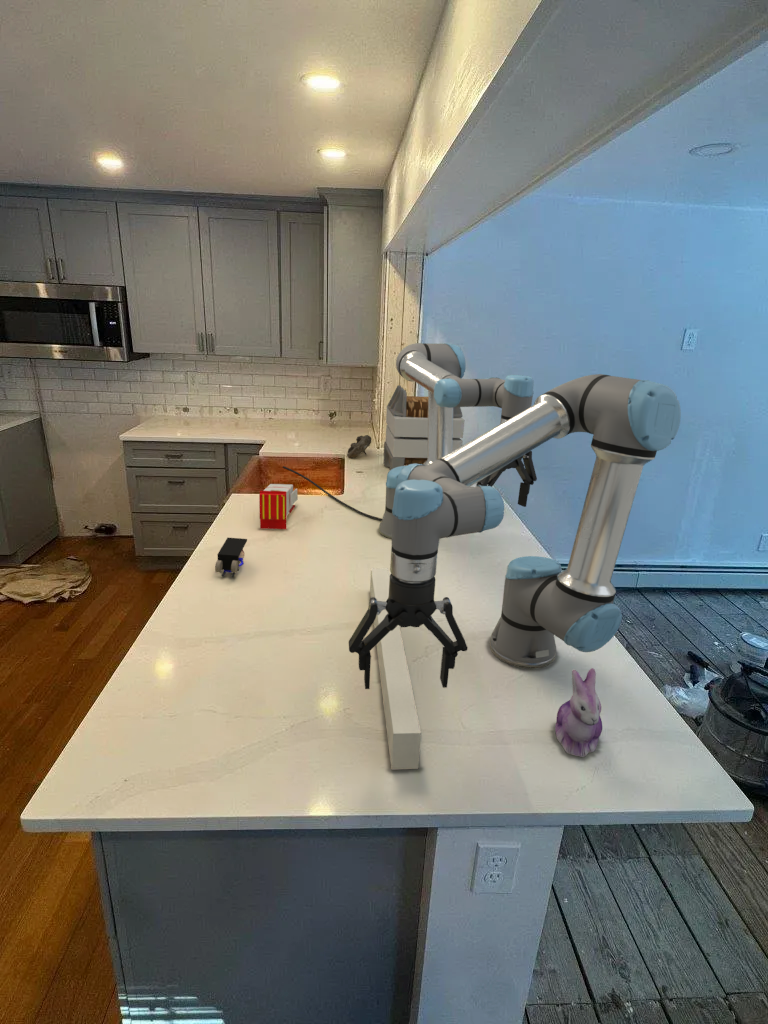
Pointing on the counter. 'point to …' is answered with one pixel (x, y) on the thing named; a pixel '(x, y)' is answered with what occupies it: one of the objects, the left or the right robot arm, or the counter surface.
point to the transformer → (412, 430)
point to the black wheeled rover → (230, 556)
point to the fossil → (359, 446)
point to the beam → (396, 686)
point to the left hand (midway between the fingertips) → (504, 508)
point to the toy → (276, 505)
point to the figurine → (580, 717)
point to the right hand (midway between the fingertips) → (405, 683)
